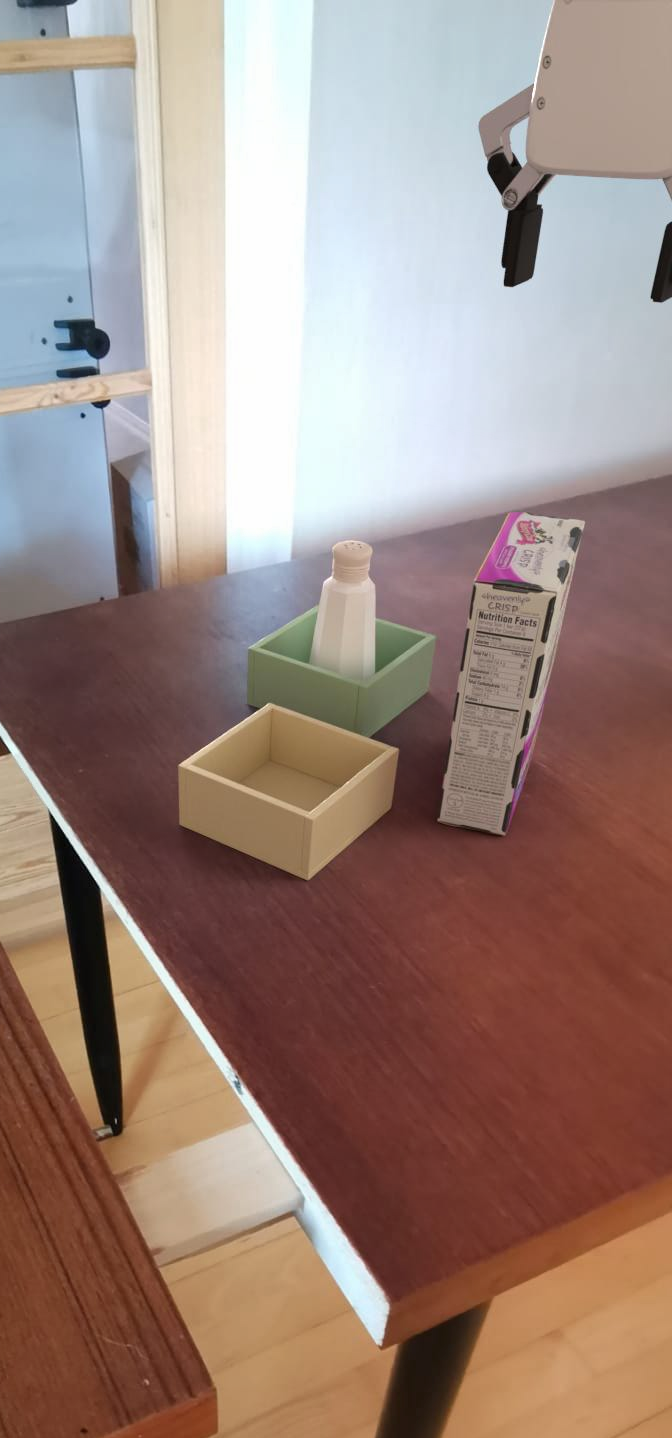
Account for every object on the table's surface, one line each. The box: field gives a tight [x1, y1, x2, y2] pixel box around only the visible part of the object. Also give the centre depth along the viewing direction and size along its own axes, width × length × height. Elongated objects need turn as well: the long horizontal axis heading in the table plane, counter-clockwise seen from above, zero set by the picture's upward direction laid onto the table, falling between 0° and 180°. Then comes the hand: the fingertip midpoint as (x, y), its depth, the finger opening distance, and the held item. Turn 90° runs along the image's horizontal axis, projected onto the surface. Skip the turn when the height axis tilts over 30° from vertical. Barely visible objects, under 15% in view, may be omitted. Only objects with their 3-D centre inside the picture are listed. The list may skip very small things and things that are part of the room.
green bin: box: [246, 604, 437, 738], centre depth 83 cm, size 10×10×4 cm
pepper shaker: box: [309, 539, 377, 683], centre depth 80 cm, size 5×5×11 cm
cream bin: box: [177, 703, 400, 881], centre depth 71 cm, size 10×10×4 cm
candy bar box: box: [436, 511, 586, 837], centre depth 69 cm, size 11×5×16 cm, turn 158°
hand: (588, 290), depth 69 cm, fingers open, 9 cm apart
